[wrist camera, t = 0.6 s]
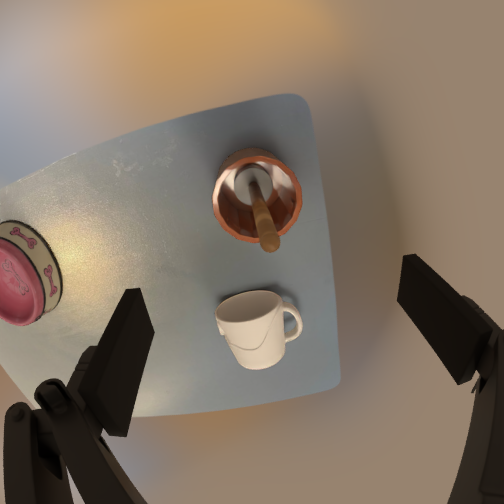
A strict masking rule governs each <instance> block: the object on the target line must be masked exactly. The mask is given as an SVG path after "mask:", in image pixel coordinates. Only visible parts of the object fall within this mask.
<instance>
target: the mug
mask: <svg viewBox="0 0 504 504" xmlns="http://www.w3.org/2000/svg"><path fill="white" fill-rule="evenodd" d="M284 311H288V312H290V313H292V314H293V315H294V317H295V318H296V326H295V328H294V329H293V330H291V331H289V332H286V333H284V319H283V312H284ZM215 316H216V320H218V321H217V326H218V327H219V330H220V334H221V335H224V337H225V339H226V341H227V343H228V345H229V347H230V348H231V350H232V352H233V354H234V355H235V357H236V359H237V361H238V362H239V364H240V365H242V366H243V367H245V368H248V369H253V370H258V369H264V368H268V367H270V366H272V365H274V364H276V363H277V362H278V361H279V360H280V359H281V358H282V357H283V355H284V353H285V343H286V342H288V341H291V340H293V339H295V338H297V337H298V336H299V335H300V334H301V331H302V320H301V317H300V314H299V312H298V310H297V309H296V307H295V306H293V305H292V304H290V303H288V302H282V298H281V297H280V296H279V295H277V294H276V293H274V292H271V291H265V290H256V291H248V292H244V293H240V294H237V295H235V296H232V297H230V298H228V299H226V300H225V301H223V302H222V303H221V304H220V305H219V306H218V307H217V308H216V310H215Z"/></svg>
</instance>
